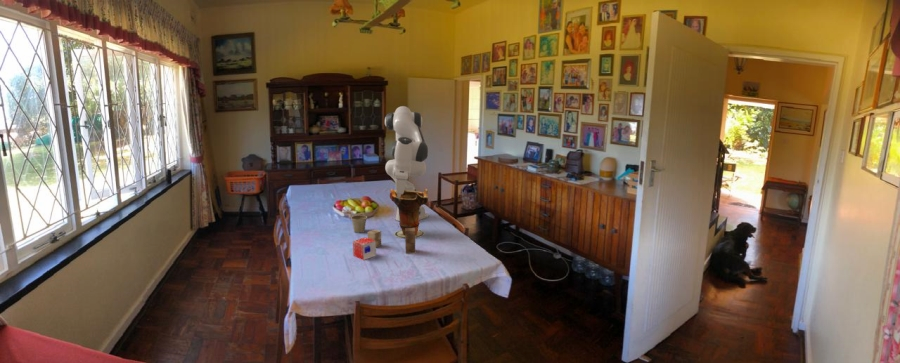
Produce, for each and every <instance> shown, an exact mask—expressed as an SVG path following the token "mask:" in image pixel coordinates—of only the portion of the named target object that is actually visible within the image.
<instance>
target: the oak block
mask: <svg viewBox="0 0 900 363" xmlns="http://www.w3.org/2000/svg"><path fill="white" fill-rule="evenodd" d="M367 238H369V239H372V240H375V243H376V248H378V247H381V246H382V231H381V230H378V229H371V230H370V231H367Z"/></svg>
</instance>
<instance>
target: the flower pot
mask: <svg viewBox="0 0 900 363" xmlns="http://www.w3.org/2000/svg"><path fill="white" fill-rule="evenodd" d="M350 219H351V221H352V226H353V227H352V228H353V232H354V233H357V234H359V233H364V232H365V231H366V222H367V219H368V216H367V215H364V214H357V215H356V214H355V215H353V216H351V217H350Z"/></svg>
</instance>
